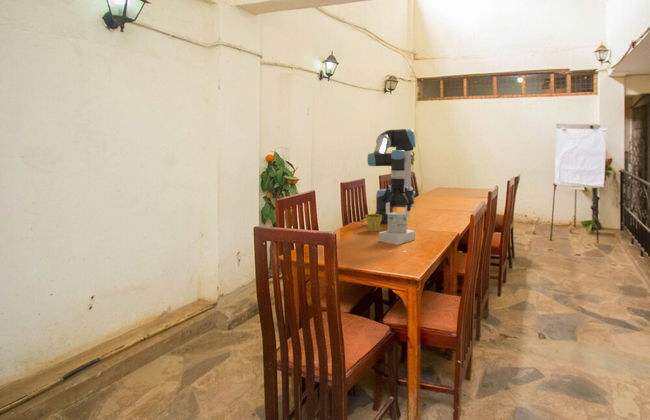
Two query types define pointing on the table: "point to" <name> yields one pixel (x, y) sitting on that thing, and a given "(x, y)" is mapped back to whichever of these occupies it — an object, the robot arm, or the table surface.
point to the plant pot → (373, 221)
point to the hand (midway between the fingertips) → (397, 215)
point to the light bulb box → (397, 223)
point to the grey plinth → (396, 237)
